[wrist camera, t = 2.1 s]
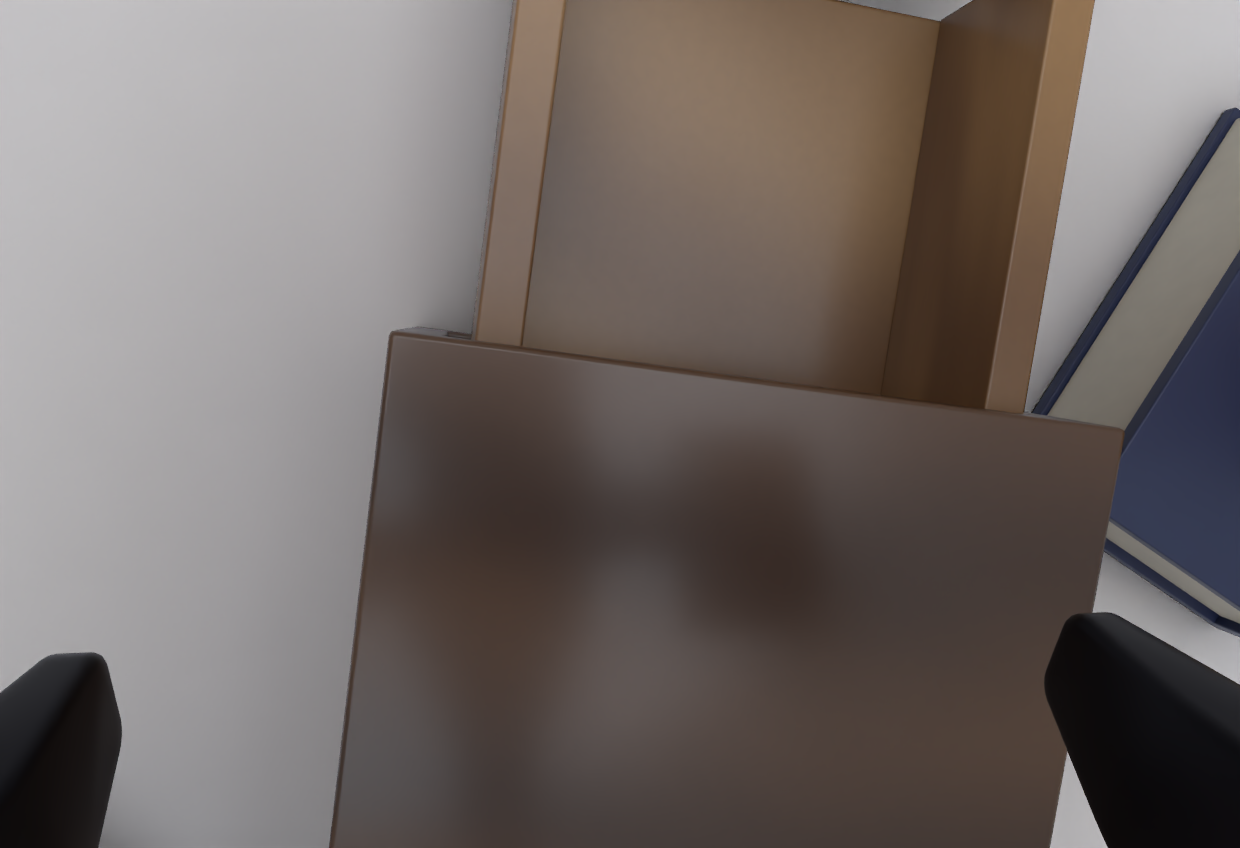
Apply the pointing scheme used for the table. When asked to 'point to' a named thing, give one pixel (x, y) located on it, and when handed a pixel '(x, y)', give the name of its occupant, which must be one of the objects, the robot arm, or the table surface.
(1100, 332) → the book
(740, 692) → the cabinet
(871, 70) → the drawer
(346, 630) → the table surface
